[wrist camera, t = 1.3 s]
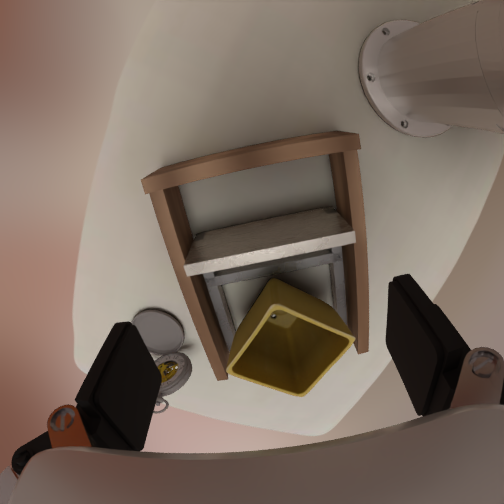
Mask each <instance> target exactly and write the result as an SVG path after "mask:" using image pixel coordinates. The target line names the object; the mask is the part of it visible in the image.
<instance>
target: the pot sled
mask: <svg viewBox="0 0 504 504" xmlns="http://www.w3.org/2000/svg"><path fill="white" fill-rule="evenodd" d="M352 243H356V238H355V230H354V229H353V228H352V227H351V226H350V225H349V224H348V223H347V222H346V221H345V219H344V218H343V217H342V216H341V215H340V214H339V213H338V212H337V211H336V210H335V209H334V208H333V207H332V206H331V207H325V208H320V209H315V210H310V211H305V212H300V213H294V214H289V215H284V216H279V217H274V218H269V219H265V220H260V221H255V222H250V223H245V224H240V225H236V226H231V227H226V228H222V229H217V230H212V231H208V232H203V233H199V234H196V236H195V238H194V241H193V243H192V246H191V248H190V250H189V253H188V255H187V258H186V260H185V263H184V265H183V266H184V269H185V272H186V275H187V277H188V276H193V275H198V274H203V275H204V278H205V281H206V285H207V288H208V291H209V294H210V297H211V300H212V303H213V306H214V309H215V312H216V315H217V318H218V321H219V324H220V327H221V330H222V333H223V336H224V338H225V341H226V344H227V347H228V350H229V353H230V350H231V346H232V342H233V338H234V335H235V333H236V331H235V328H234V325H233V322H232V318H231V315H230V312H229V309H228V305H227V302H226V299H225V296H224V292H223V289H222V286H221V285H223V284H228V283H234V282H239V281H244V280H249V279H254V278H259V277H264V276H269V275H275V274H280V273H284V272H289V271H294V270H299V269H304V268H309V267H314V266H319V265H323V264H328V263H330V273H331V282H332V293H333V304H334V310H335V311H336V312H337V313H338V314H339V316H340V317H341V318H342V320H343V321H344V323H345V324H346V325H347V311H346V294H345V280H344V268H343V256H342V245H347V244H352Z"/></svg>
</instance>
